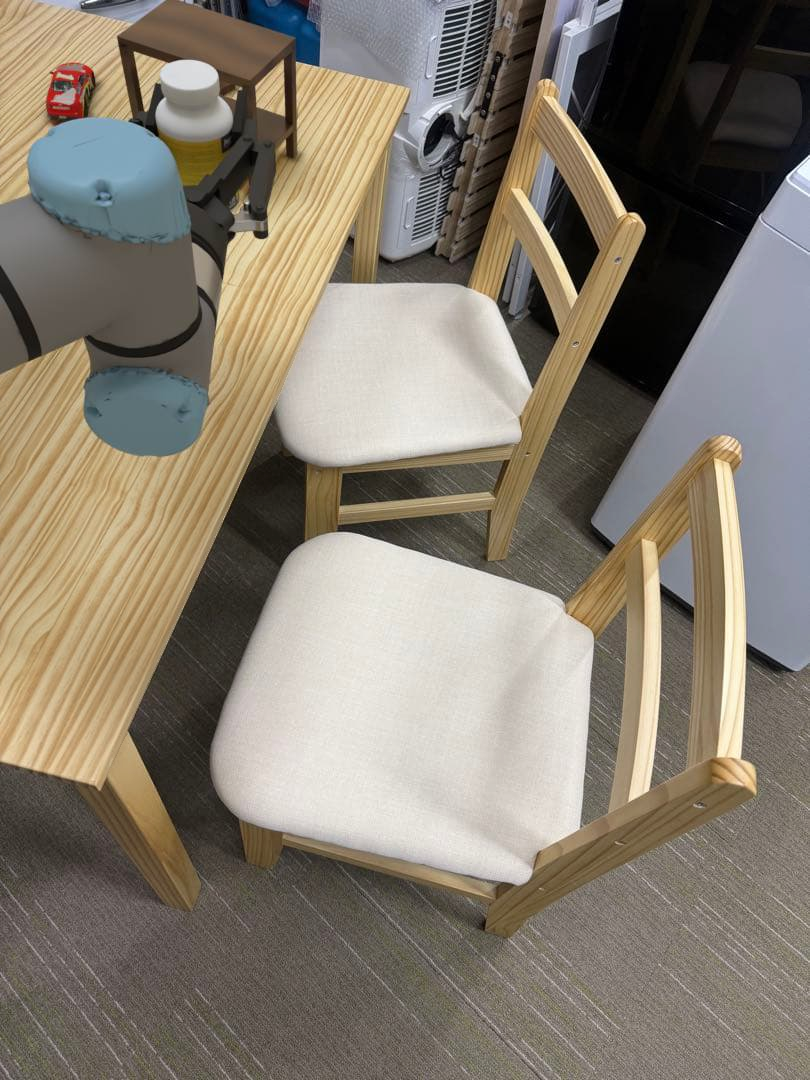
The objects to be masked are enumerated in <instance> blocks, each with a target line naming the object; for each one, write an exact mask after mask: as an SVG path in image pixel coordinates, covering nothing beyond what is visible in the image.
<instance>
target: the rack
mask: <svg viewBox="0 0 810 1080" xmlns="http://www.w3.org/2000/svg"><path fill="white" fill-rule="evenodd" d="M183 1H184V0H164V1H162V2H161V3H160V4H158V5H157V6H155V7H154V8H153V9H152V10H150V11H148V13H146V14H145V15H144V16H141V18H139V19H138V20H137V21H135V22H134V23H132V24H131V25H130V26H128V27H127V28H125V29H124V30H123V31H122V32H120V33H119V34H117V35H116V39H117V45H118V51H119V55H120V61H121V66H122V71H123V76H124V81H125V87H126V91H127V96H128V102H129V106H130V113H131V118H136V115H137V113H138V112H140V111H145V106H144V102H143V96H142V91H141V84H140V79H139V74H138V69H137V63H136V57H135V53H138V54H140V55H143V56H146V57H149V58H152V59H155V60H158V61H161V62H165V63H167V64H169V63H171V62H174V61H178V60H195V61H201V62H204V63H206V64H209V65H210V66H212V67H213V68H214V69H215V70H216V71H217V73H218V77H219V80H221V81H224V82H227V83H230V84H233V85H235V87H239V88H241V90H244V91H246V93H247V107H248V119H252V120H256V122H257V130H258V143H260V144H261V143H262V142H263V141H272V142H274V144H275V151H277V150H278V148H279V147H280V146H281V145H282V144H284V142H285V156H286V157H287V158H291V159H292V160H293V159H295V158H296V157H297V156H298V109H297V101H298V100H297V99H298V98H297V46H296V44H297V43H296V36H291V35H288V34H285V33H283V32H279V31H277V30H273V29H270V28H267V27H263V26H260V25H257V24H254V23H251V22H248V21H245V20H241V19H239V18H236V17H232V16H230V15H226V14H222V13H220V12H217V11H214V10H211V9H207V8H205V7H203V6H202V7H203V8H202V7H199V6H195V5H192V4H193V3H189V2H186V1H185V2H183ZM282 61H283V84H284V85H283V86H284V90H283V91H284V115H282V114H279V113H276V112H273V111H270V110H267V109H264V108H261V107H258V105H257V91H256V89H257V88H256V86H257V85H258V84H259V83H260V82H262V80H264V79H265V78H266V77H267V75H269V74H270V73H271V72H272V70H274V69H275V68H276V67H277V66H278V65H279V64H280V63H281V62H282ZM219 97H221V98H222V99H223V100H224V101H225V102H226V103H227V104H228V106H229V107H230V109H231V112H232V115H233V120H234V113H235V106H236V99H234V98H232V97H229V96H225V95H220V94H219ZM146 112H148V110H146ZM252 175H253V174H250V175H249V177H248V178H247V179H248V187H249V186H250V182H251V179H252Z"/></svg>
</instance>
